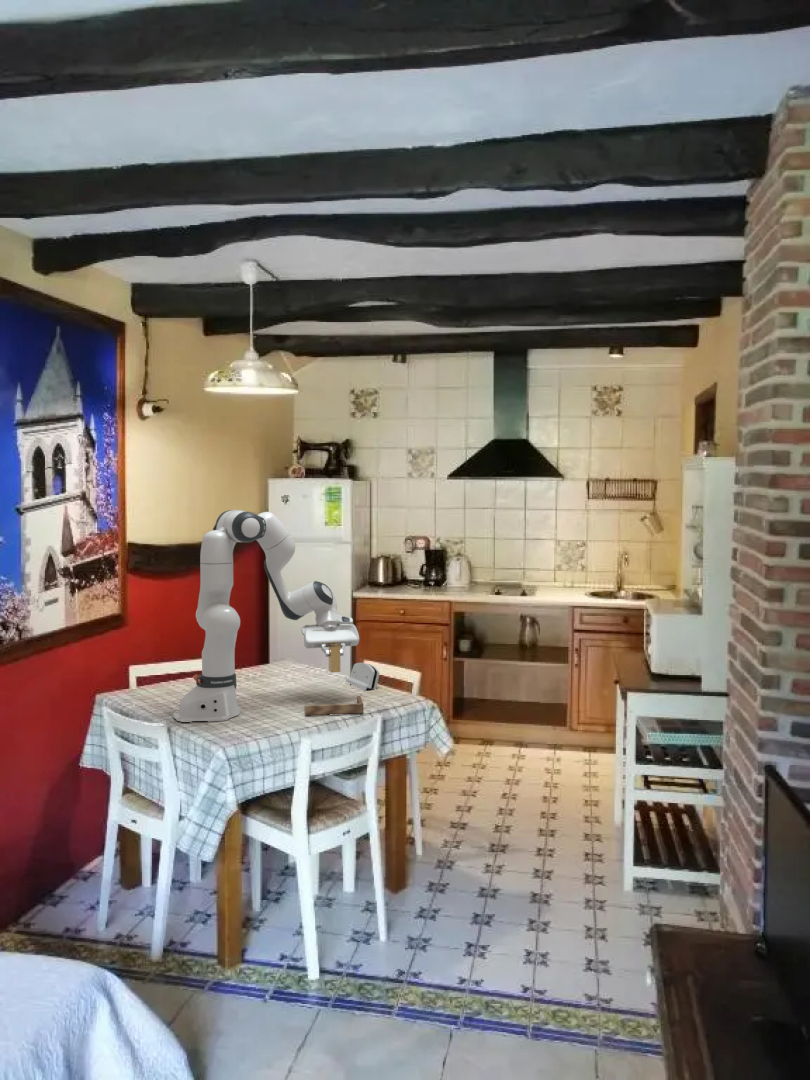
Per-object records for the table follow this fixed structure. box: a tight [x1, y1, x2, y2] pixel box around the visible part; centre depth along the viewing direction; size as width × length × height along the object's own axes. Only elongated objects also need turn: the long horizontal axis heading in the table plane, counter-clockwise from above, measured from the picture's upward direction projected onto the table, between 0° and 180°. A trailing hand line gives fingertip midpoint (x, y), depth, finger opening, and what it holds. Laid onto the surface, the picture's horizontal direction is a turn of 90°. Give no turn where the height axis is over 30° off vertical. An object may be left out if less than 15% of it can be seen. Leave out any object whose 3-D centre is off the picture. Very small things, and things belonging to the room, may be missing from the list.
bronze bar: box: [328, 643, 341, 673], centre depth 314 cm, size 4×4×10 cm
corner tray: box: [304, 695, 364, 717], centre depth 306 cm, size 20×12×4 cm, turn 98°
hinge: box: [345, 662, 380, 692], centre depth 344 cm, size 17×5×10 cm, turn 32°
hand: (334, 655), depth 313 cm, fingers closed on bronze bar, 3 cm apart
